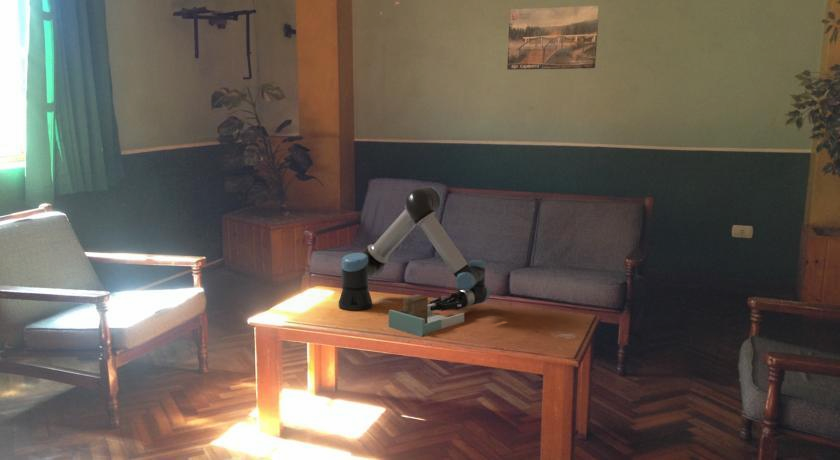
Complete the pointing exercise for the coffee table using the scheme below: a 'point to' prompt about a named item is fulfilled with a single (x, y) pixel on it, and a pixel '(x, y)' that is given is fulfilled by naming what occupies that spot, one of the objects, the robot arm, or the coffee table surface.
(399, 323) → the teal and white tray
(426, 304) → the walnut block
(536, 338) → the coffee table surface
